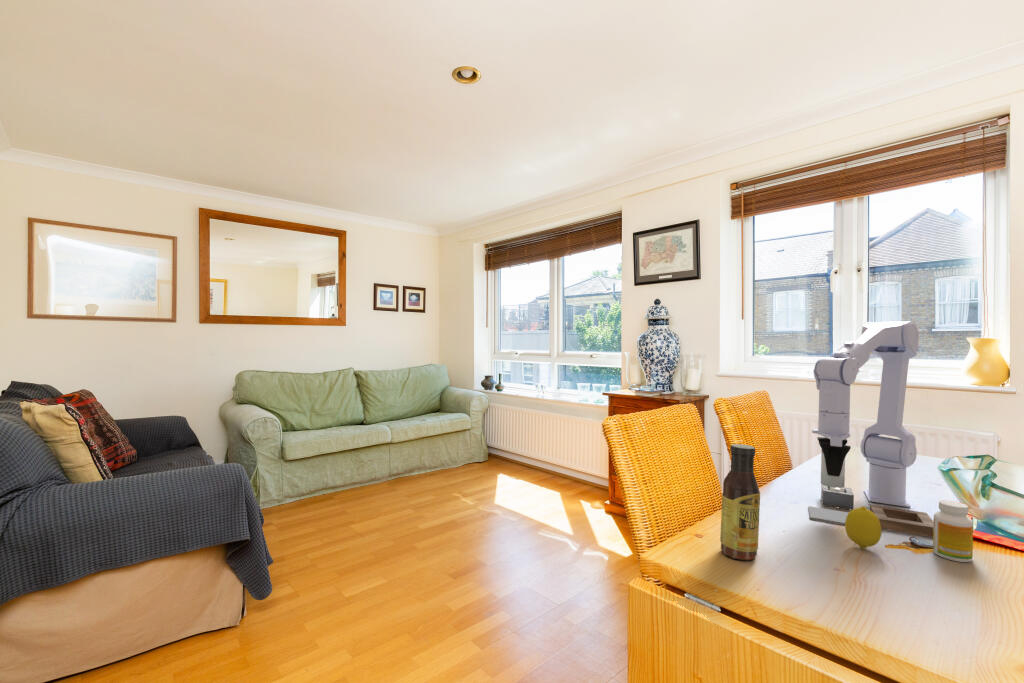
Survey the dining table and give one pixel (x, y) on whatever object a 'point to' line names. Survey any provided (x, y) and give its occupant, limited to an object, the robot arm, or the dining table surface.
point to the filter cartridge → (831, 480)
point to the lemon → (863, 527)
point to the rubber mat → (827, 515)
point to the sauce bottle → (740, 506)
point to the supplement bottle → (953, 532)
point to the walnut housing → (903, 520)
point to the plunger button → (837, 489)
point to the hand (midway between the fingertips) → (832, 472)
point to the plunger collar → (837, 498)
